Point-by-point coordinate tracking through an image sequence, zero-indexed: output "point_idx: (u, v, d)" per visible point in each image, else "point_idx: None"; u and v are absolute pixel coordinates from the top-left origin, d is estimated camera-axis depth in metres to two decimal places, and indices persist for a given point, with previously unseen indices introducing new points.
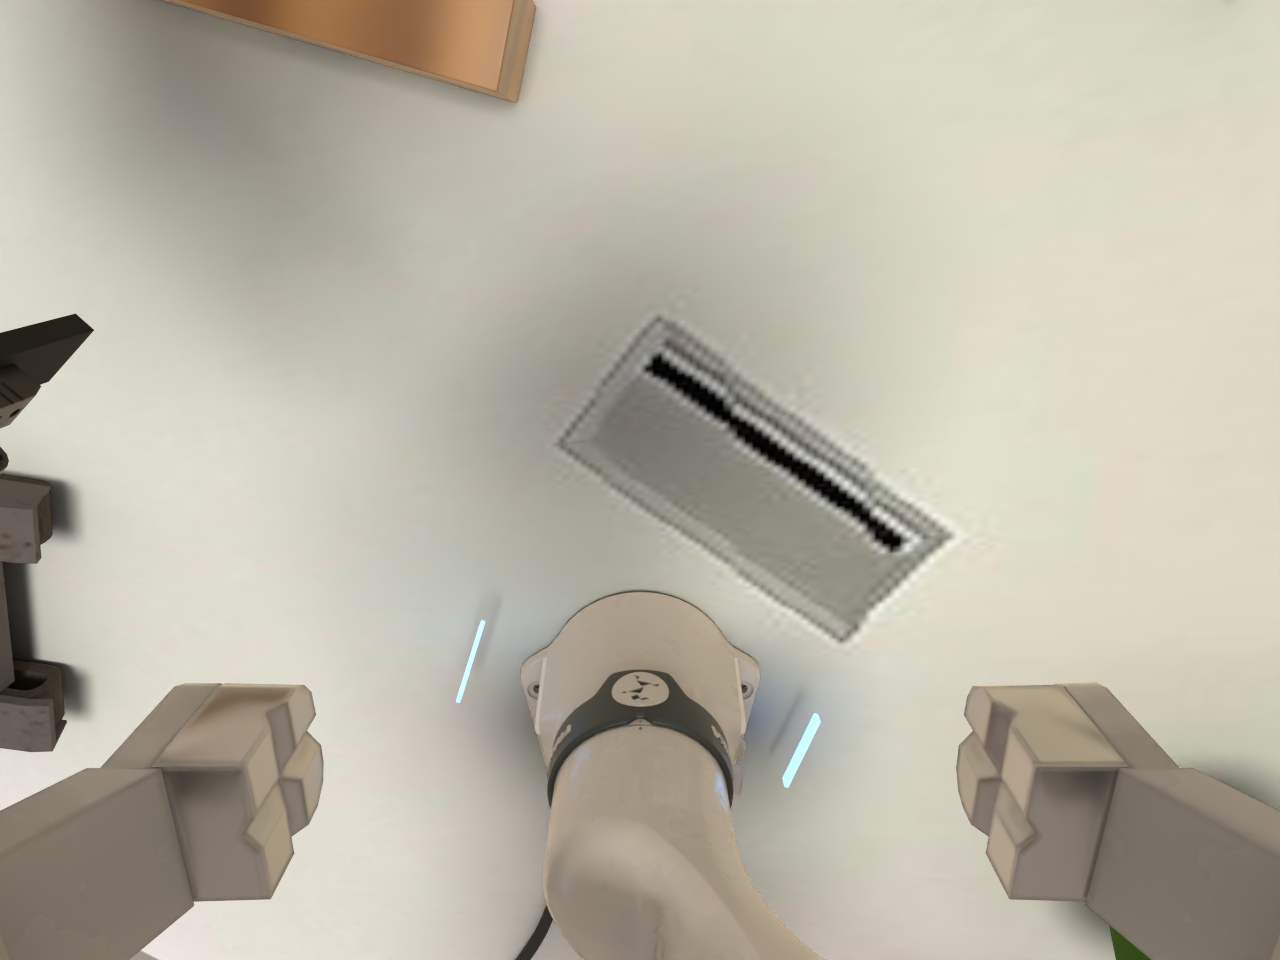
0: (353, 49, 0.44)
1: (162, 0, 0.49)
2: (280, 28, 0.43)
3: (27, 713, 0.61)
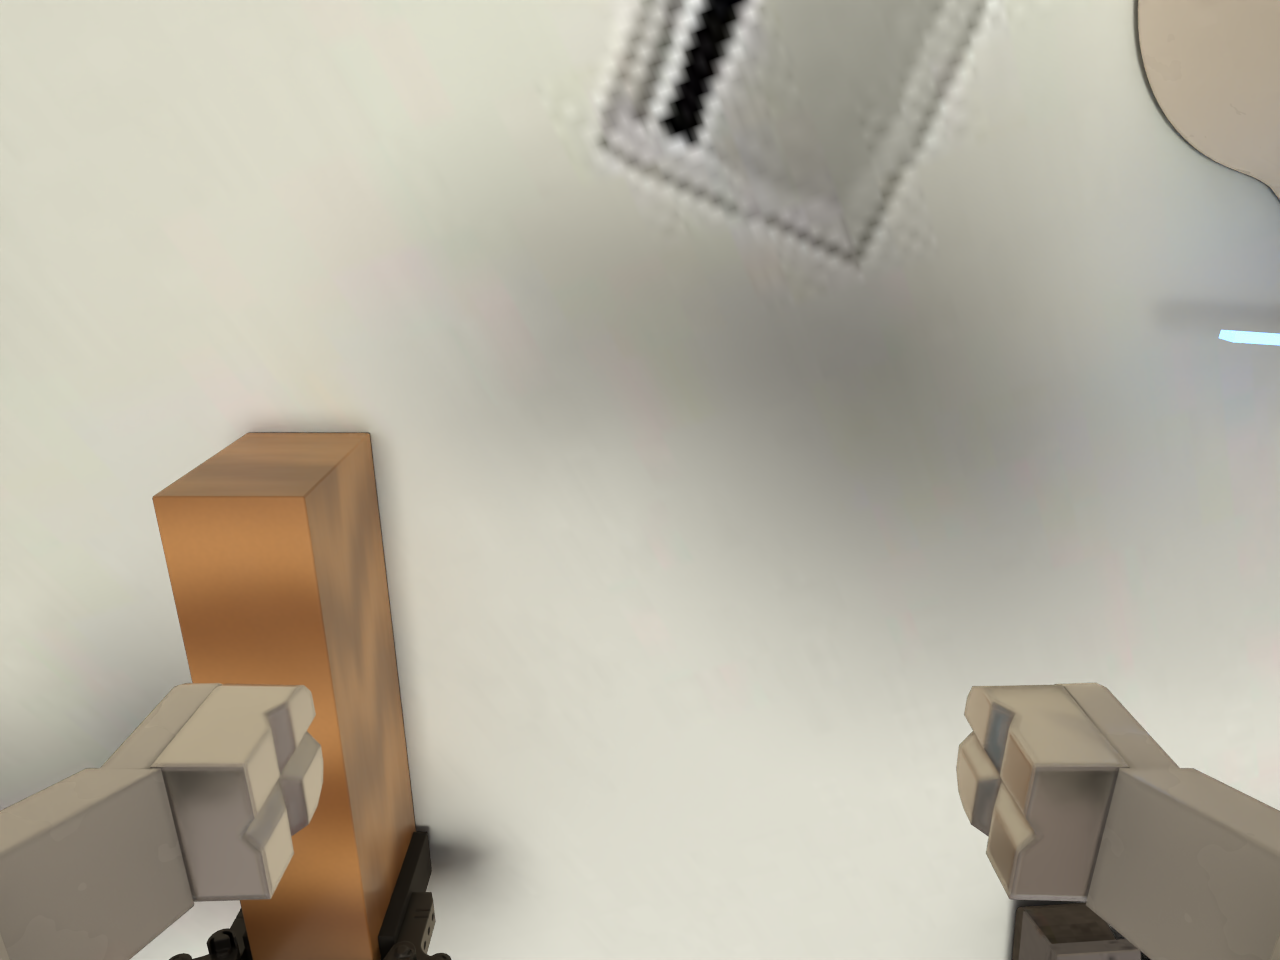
0: (329, 679, 0.33)
1: (410, 822, 0.44)
2: (341, 759, 0.34)
3: None
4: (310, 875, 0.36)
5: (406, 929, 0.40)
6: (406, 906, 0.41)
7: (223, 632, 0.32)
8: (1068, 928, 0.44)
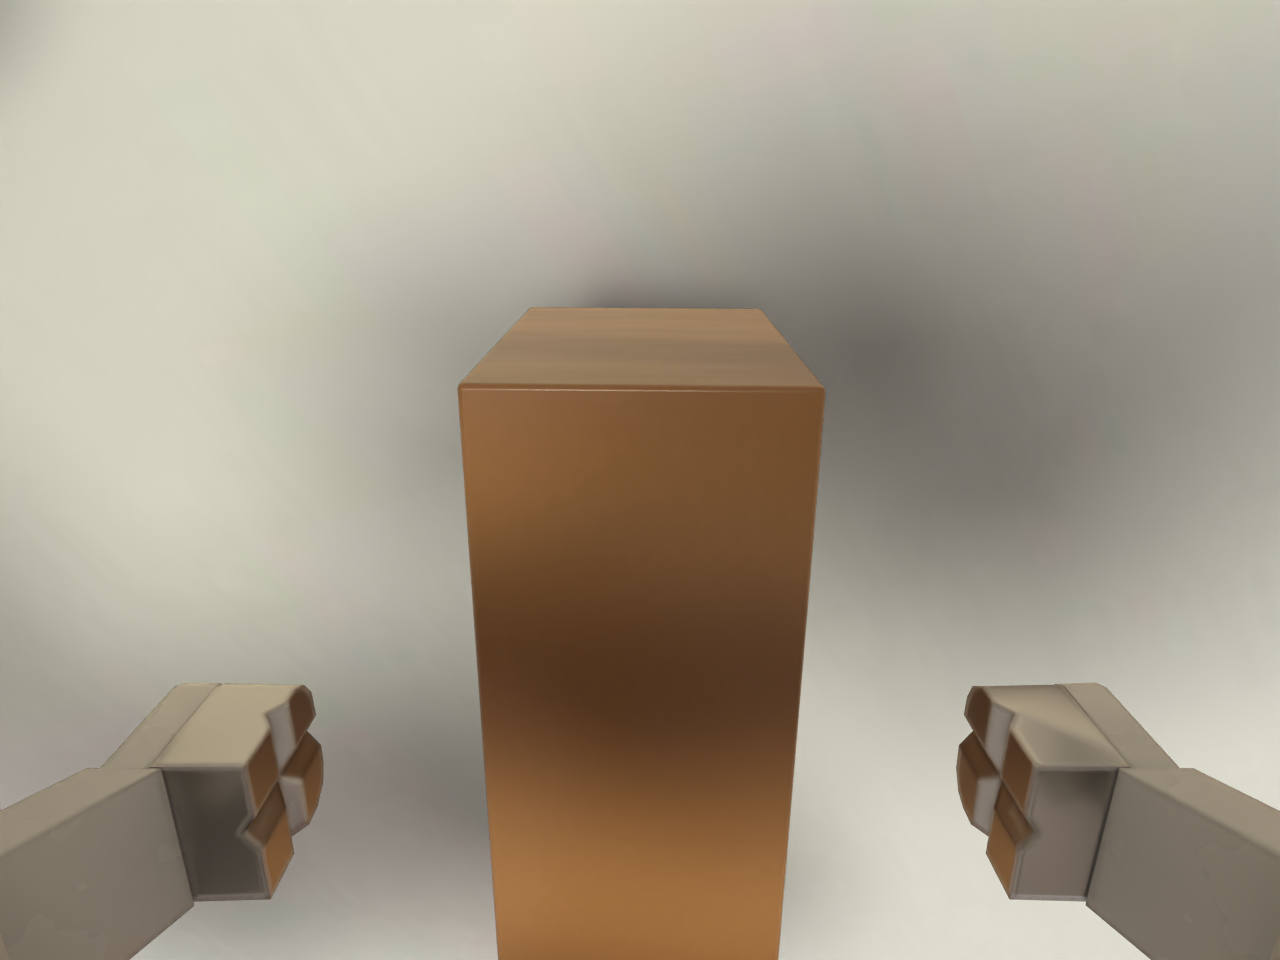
0: (788, 806, 0.15)
1: None
2: None
3: None
4: None
5: None
6: None
7: (573, 705, 0.14)
8: None
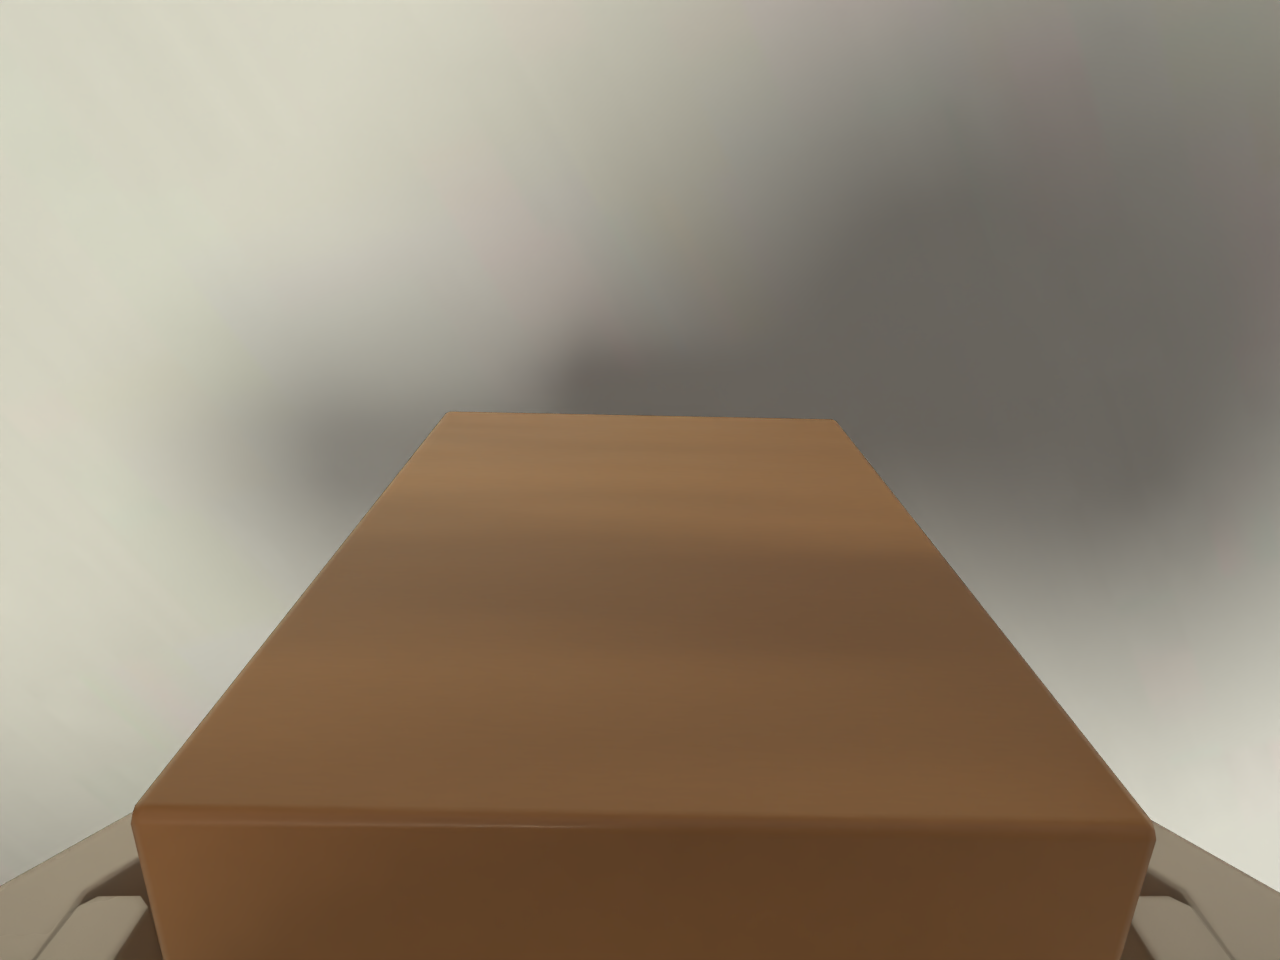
0: None
1: None
2: None
3: None
4: None
5: None
6: None
7: None
8: None
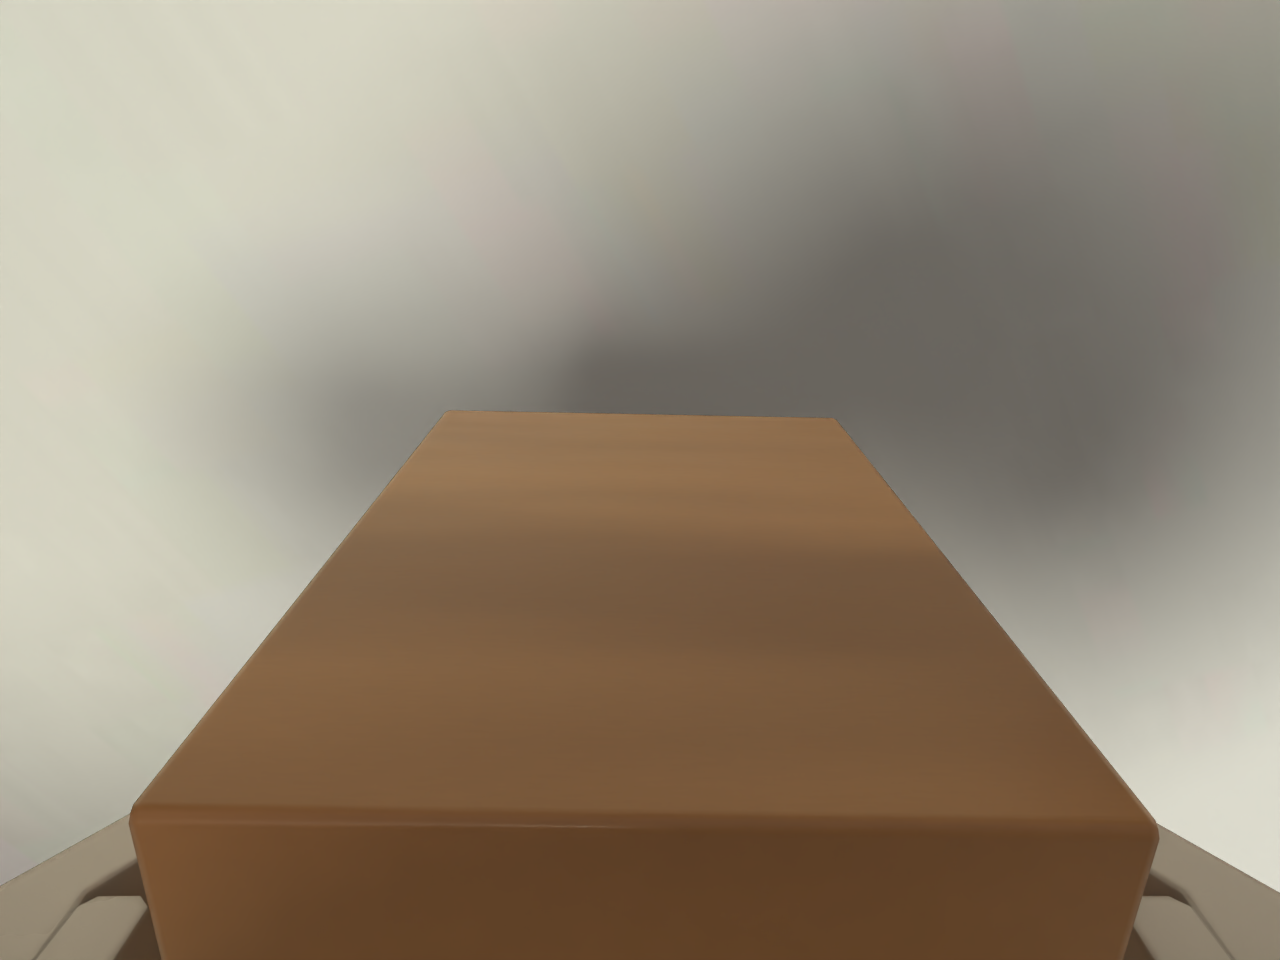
0: None
1: None
2: None
3: None
4: None
5: None
6: None
7: None
8: None
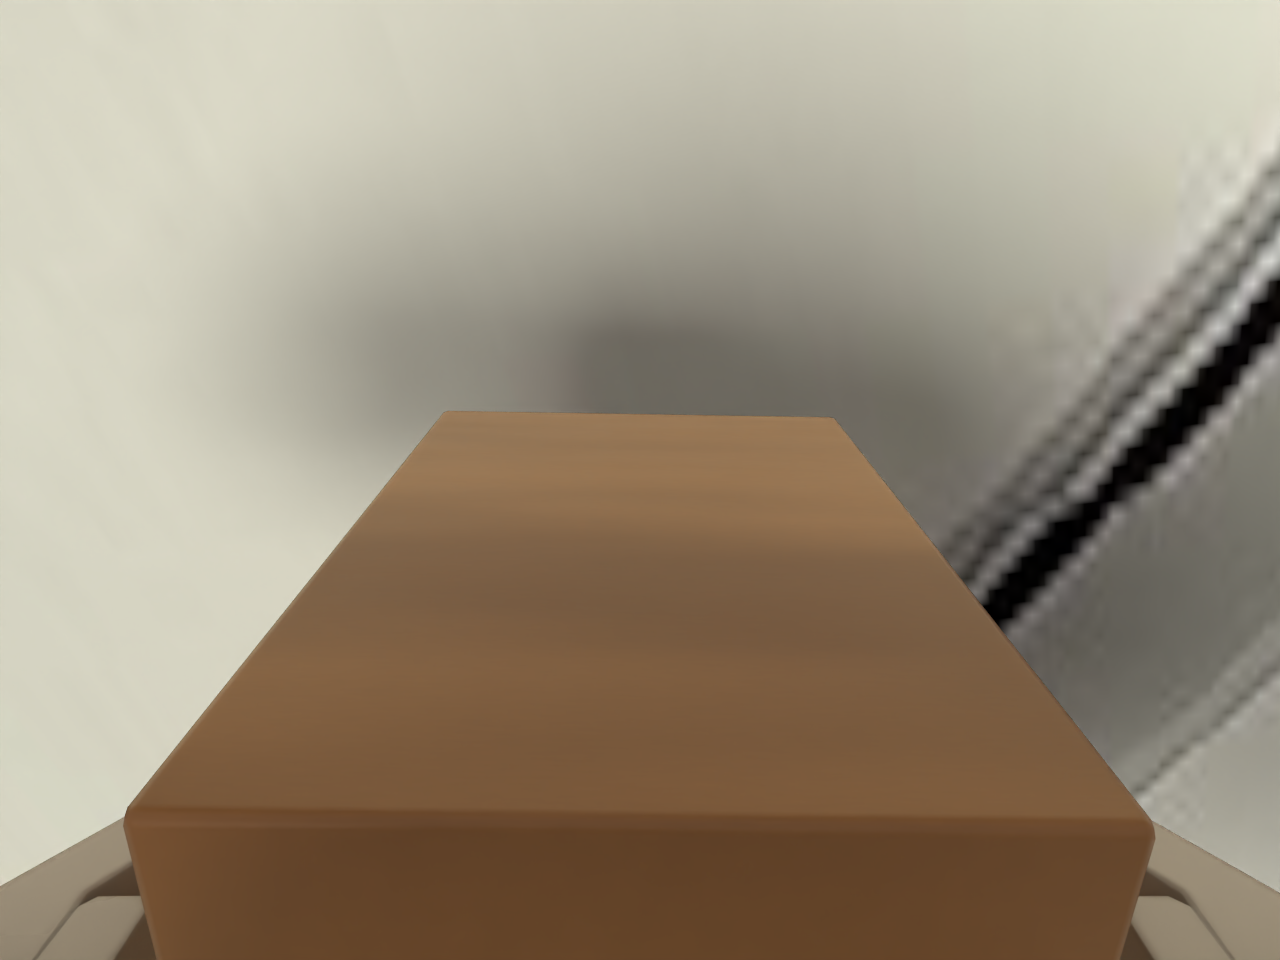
0: None
1: None
2: None
3: None
4: None
5: None
6: None
7: None
8: None
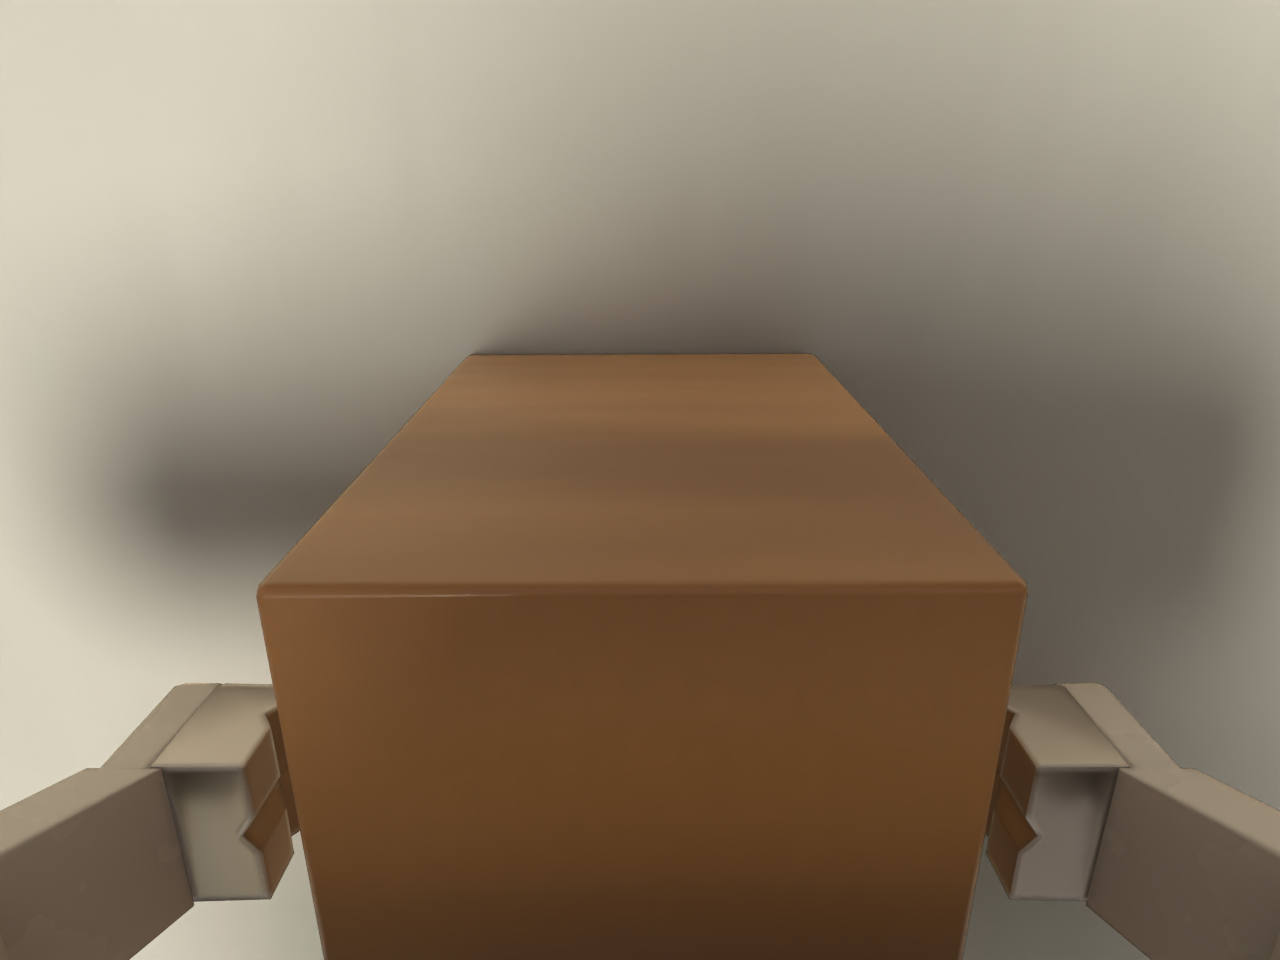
0: None
1: None
2: None
3: None
4: None
5: None
6: None
7: None
8: None
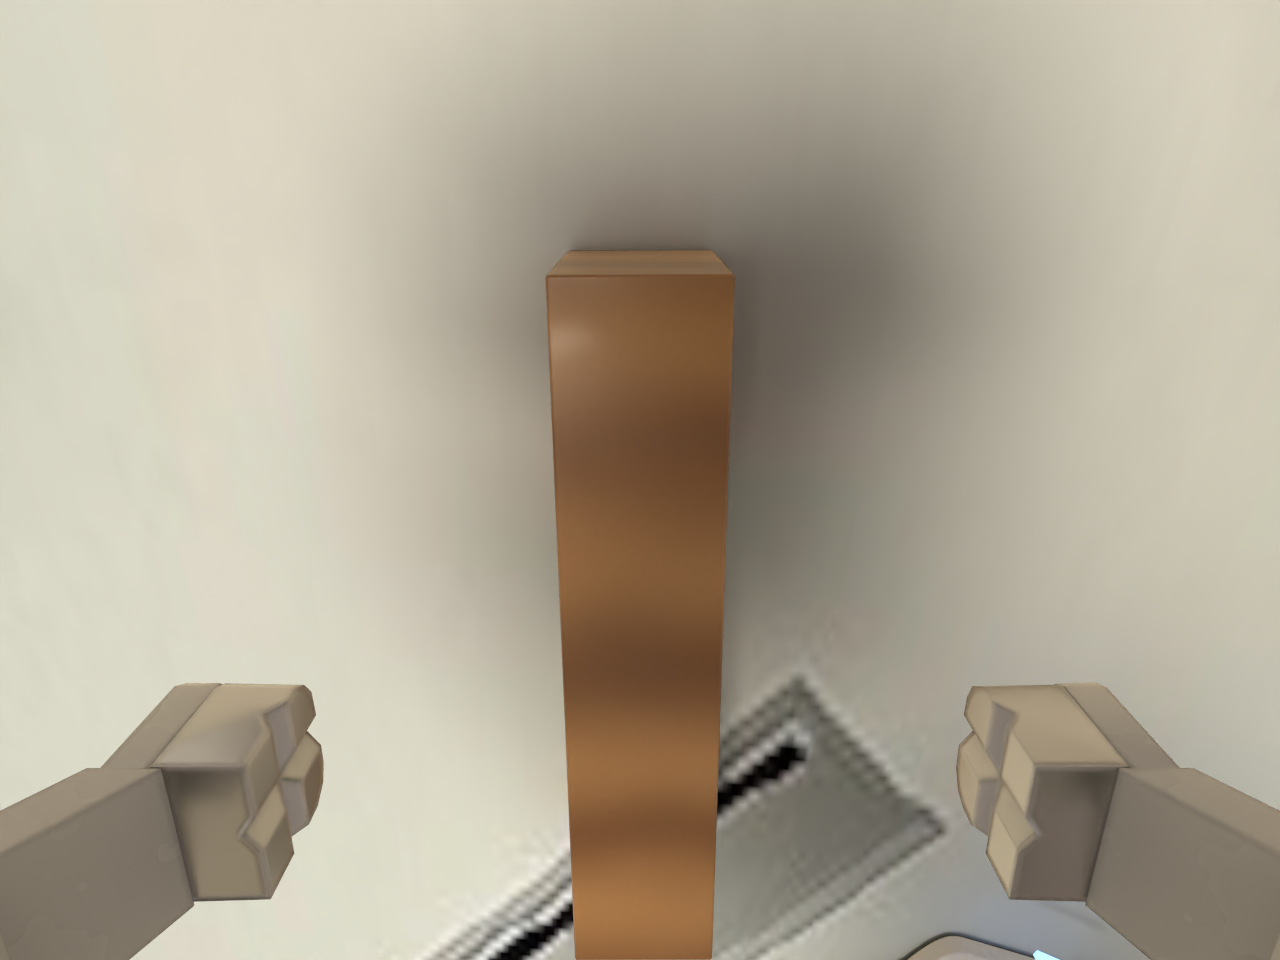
0: (724, 518, 0.27)
1: None
2: (721, 622, 0.28)
3: None
4: (658, 771, 0.30)
5: None
6: None
7: (605, 457, 0.26)
8: None
